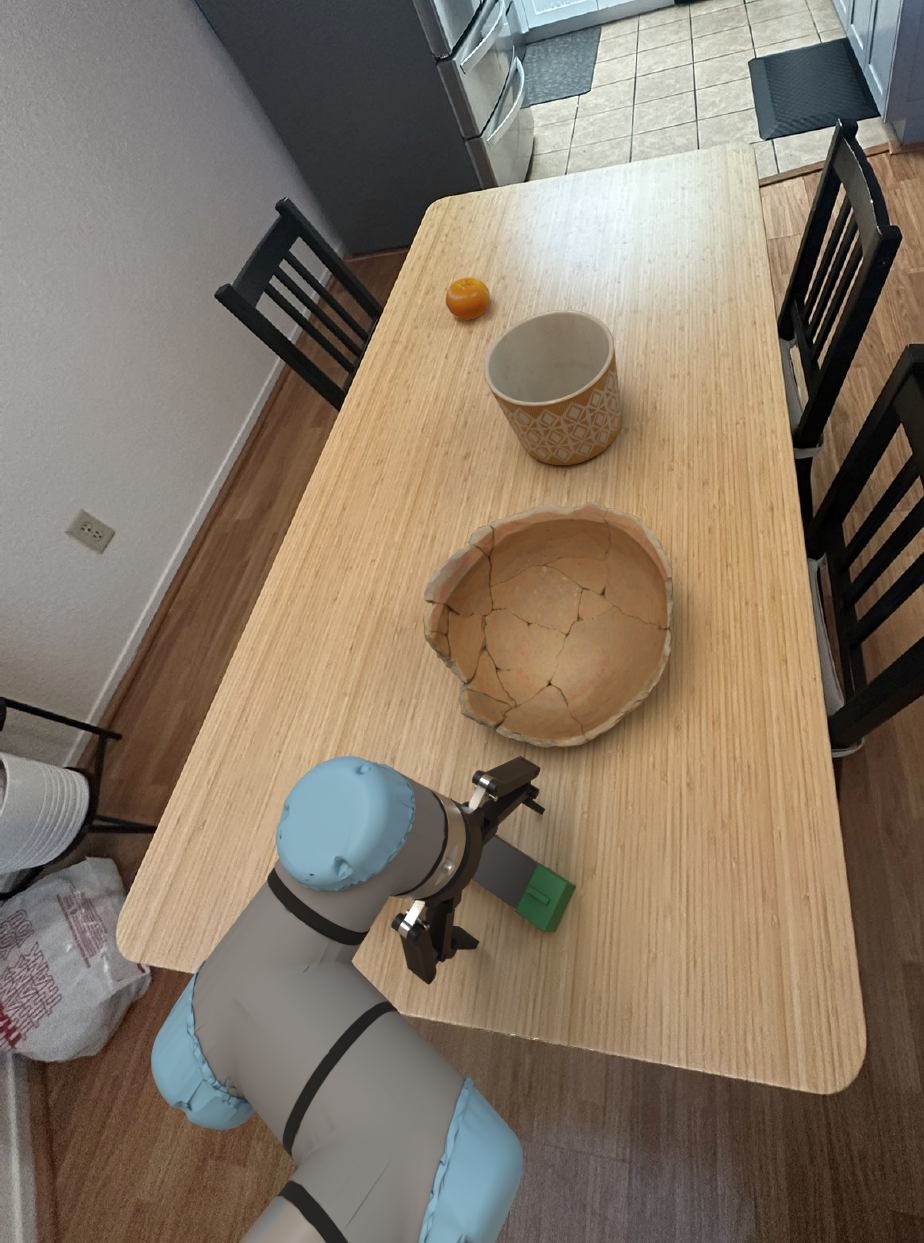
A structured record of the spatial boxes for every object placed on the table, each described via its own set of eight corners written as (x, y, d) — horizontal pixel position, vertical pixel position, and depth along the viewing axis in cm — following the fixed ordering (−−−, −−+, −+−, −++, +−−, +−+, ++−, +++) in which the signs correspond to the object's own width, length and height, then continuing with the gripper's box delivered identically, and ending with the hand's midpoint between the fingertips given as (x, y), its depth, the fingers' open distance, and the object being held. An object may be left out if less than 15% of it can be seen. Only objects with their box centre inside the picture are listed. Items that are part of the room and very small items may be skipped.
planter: (562, 496, 98) (535, 427, 85) (492, 432, 108) (459, 362, 95) (654, 422, 102) (642, 346, 89) (579, 367, 113) (558, 292, 100)
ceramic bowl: (497, 805, 72) (447, 750, 62) (442, 629, 92) (397, 565, 82) (727, 679, 76) (713, 608, 66) (626, 535, 96) (604, 463, 86)
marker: (443, 853, 73) (425, 848, 68) (465, 813, 75) (449, 805, 70) (555, 932, 66) (542, 931, 62) (576, 886, 68) (565, 882, 64)
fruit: (500, 282, 127) (467, 263, 121) (493, 321, 125) (460, 304, 119) (475, 293, 133) (442, 275, 127) (468, 331, 131) (435, 315, 125)
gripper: (362, 1054, 45) (466, 1024, 61) (540, 721, 55) (586, 773, 72) (290, 987, 48) (407, 975, 65) (471, 684, 58) (531, 742, 75)
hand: (502, 868), depth 68 cm, fingers open, 13 cm apart
